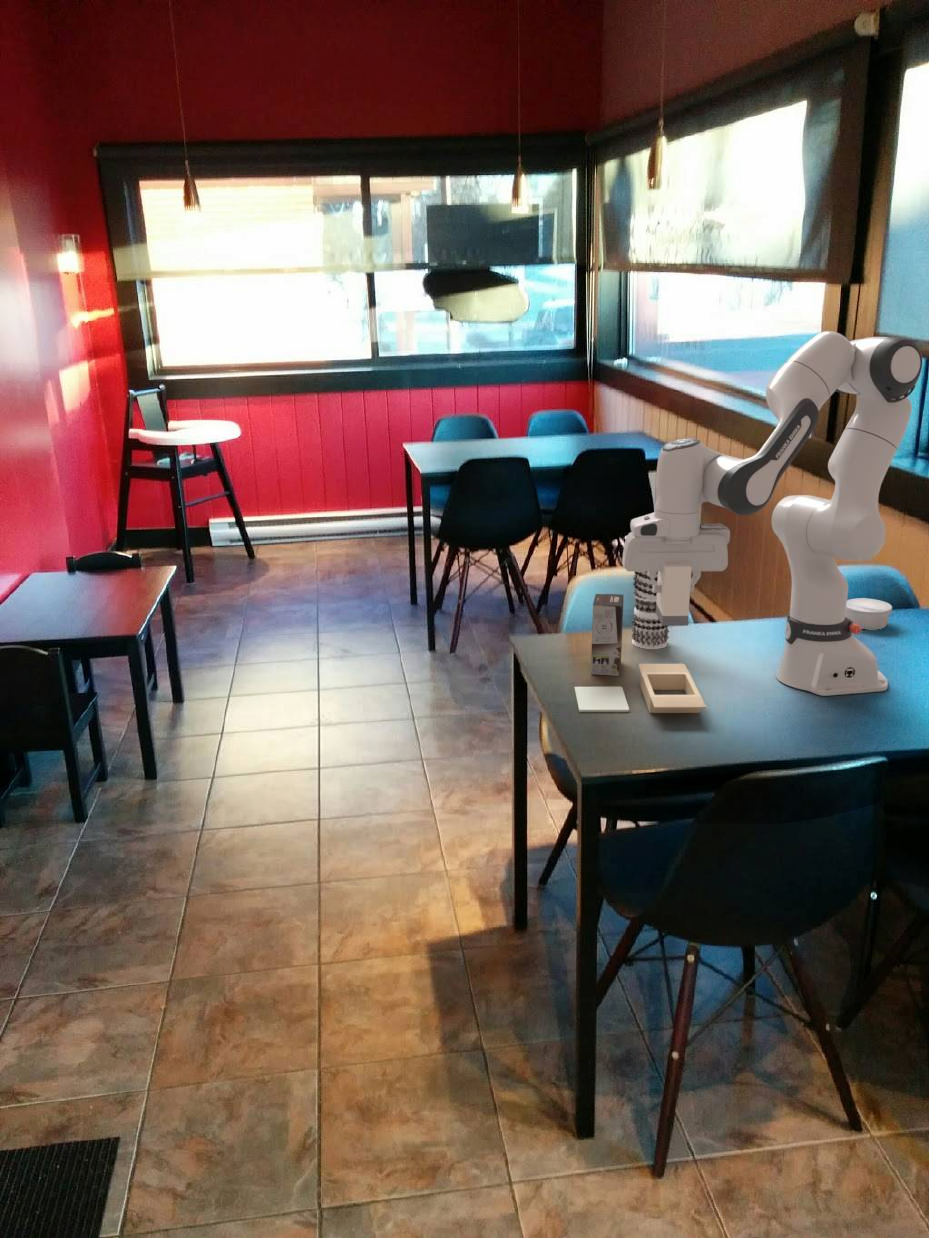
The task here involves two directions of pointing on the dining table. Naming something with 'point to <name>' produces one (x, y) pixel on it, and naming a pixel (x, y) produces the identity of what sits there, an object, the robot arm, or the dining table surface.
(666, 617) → the cream box
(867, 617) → the ramekin
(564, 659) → the dining table surface
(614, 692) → the white rectangular plate
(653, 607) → the decorative candle
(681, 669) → the beige hollow rectangular block
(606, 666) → the coffee box
